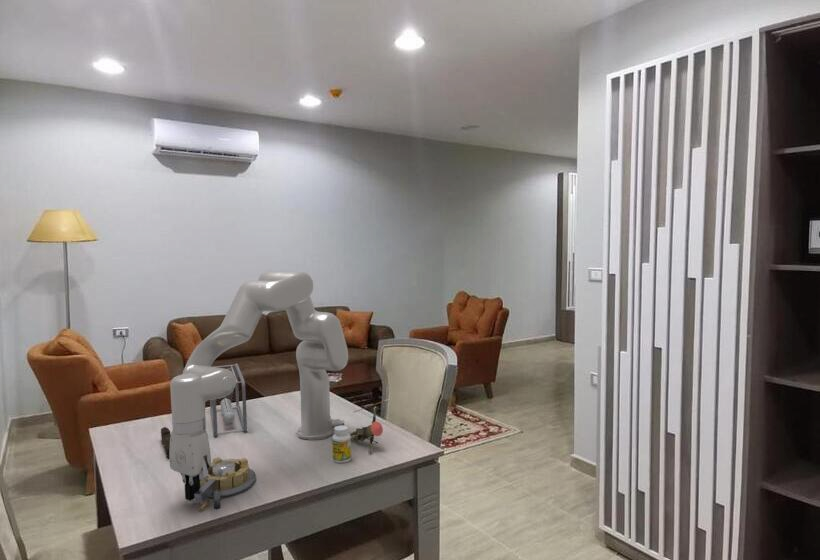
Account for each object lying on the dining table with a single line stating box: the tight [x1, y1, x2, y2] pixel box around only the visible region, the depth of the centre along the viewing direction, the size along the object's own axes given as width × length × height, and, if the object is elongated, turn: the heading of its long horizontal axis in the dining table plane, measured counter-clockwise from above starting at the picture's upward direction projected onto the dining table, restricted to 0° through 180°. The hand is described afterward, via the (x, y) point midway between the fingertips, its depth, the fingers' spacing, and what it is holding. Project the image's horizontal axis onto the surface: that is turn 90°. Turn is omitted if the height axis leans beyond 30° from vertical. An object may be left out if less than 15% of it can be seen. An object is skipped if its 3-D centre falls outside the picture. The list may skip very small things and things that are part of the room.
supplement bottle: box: [331, 425, 352, 464], centre depth 152 cm, size 5×5×10 cm
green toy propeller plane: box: [348, 398, 391, 456], centre depth 161 cm, size 16×10×20 cm
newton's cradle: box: [209, 363, 248, 437], centre depth 184 cm, size 30×10×18 cm, turn 23°
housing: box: [197, 461, 257, 513], centre depth 135 cm, size 16×21×5 cm
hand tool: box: [160, 426, 171, 460], centre depth 162 cm, size 19×4×5 cm, turn 31°
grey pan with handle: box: [194, 456, 250, 505], centre depth 134 cm, size 20×12×4 cm, turn 174°
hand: (193, 497), depth 128 cm, fingers closed
